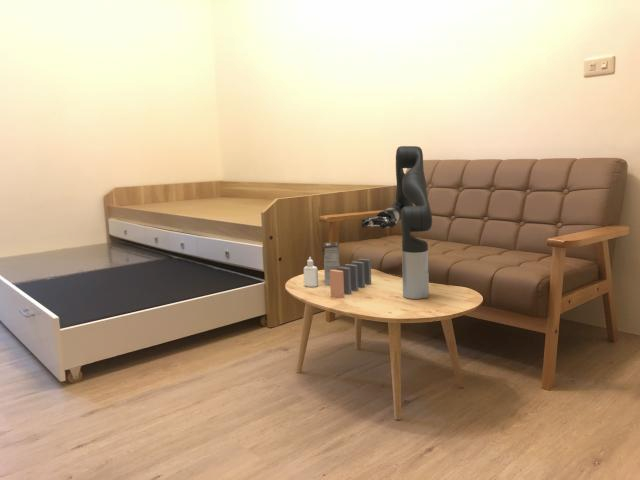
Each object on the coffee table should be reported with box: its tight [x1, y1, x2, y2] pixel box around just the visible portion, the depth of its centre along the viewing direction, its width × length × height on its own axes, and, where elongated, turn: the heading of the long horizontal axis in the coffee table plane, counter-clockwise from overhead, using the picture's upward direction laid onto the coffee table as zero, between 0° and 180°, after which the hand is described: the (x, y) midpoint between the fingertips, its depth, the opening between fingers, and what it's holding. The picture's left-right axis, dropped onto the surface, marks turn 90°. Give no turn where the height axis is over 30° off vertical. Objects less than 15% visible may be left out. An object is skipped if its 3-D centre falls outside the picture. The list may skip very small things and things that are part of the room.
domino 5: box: [357, 258, 372, 286], centre depth 215 cm, size 2×5×10 cm, turn 54°
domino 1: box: [329, 270, 345, 299], centre depth 199 cm, size 2×5×10 cm, turn 54°
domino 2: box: [337, 266, 352, 295], centre depth 203 cm, size 2×5×10 cm, turn 54°
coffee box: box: [323, 241, 341, 286], centre depth 219 cm, size 9×6×16 cm
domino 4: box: [350, 260, 366, 289], centre depth 211 cm, size 2×5×10 cm, turn 54°
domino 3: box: [343, 263, 359, 292], centre depth 207 cm, size 2×5×10 cm, turn 54°
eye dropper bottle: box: [303, 256, 319, 288], centre depth 214 cm, size 4×6×12 cm
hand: (372, 226), depth 219 cm, fingers open, 8 cm apart
